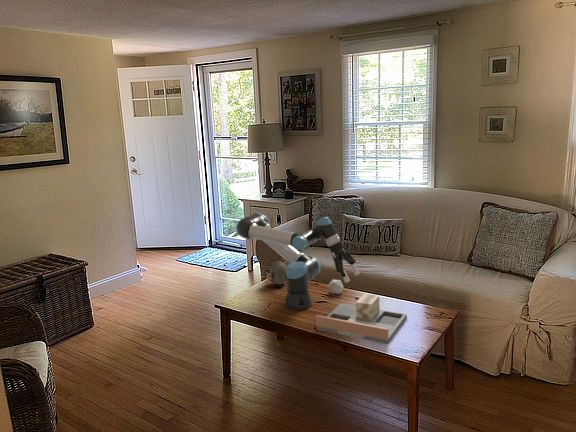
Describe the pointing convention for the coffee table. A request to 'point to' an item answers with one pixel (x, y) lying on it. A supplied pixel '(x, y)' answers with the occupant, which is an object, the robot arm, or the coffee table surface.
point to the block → (367, 306)
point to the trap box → (361, 324)
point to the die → (335, 286)
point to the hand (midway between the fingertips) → (352, 278)
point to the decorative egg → (278, 273)
